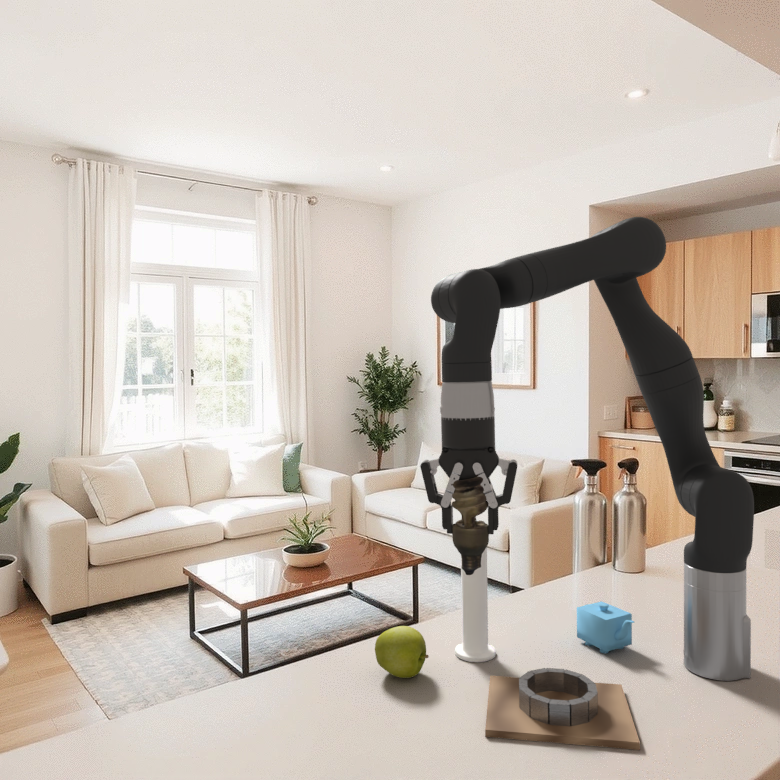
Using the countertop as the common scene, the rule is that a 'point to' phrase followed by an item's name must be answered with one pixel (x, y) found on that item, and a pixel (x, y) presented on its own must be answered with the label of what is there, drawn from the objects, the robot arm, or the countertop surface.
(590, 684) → the ring seat
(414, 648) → the apple
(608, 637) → the teapot
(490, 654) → the candle
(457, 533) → the light bulb
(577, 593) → the countertop surface
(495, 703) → the board
